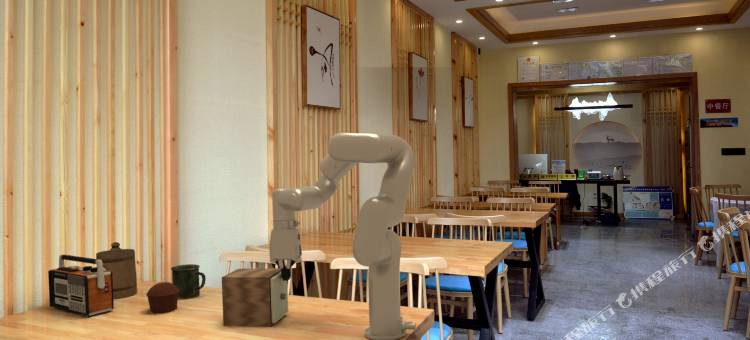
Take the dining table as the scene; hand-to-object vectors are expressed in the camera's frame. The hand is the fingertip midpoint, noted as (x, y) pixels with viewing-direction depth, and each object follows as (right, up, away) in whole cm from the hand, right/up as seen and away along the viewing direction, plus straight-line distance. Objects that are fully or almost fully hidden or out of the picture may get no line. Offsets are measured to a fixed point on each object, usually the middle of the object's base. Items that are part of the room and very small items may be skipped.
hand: (286, 279), depth 180 cm
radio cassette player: (-80, -16, +22) cm, 85 cm away
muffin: (-48, -15, +18) cm, 54 cm away
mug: (-45, -15, +38) cm, 61 cm away
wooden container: (-77, -16, +45) cm, 91 cm away
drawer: (-9, -13, +1) cm, 15 cm away
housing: (-11, -14, +2) cm, 18 cm away
